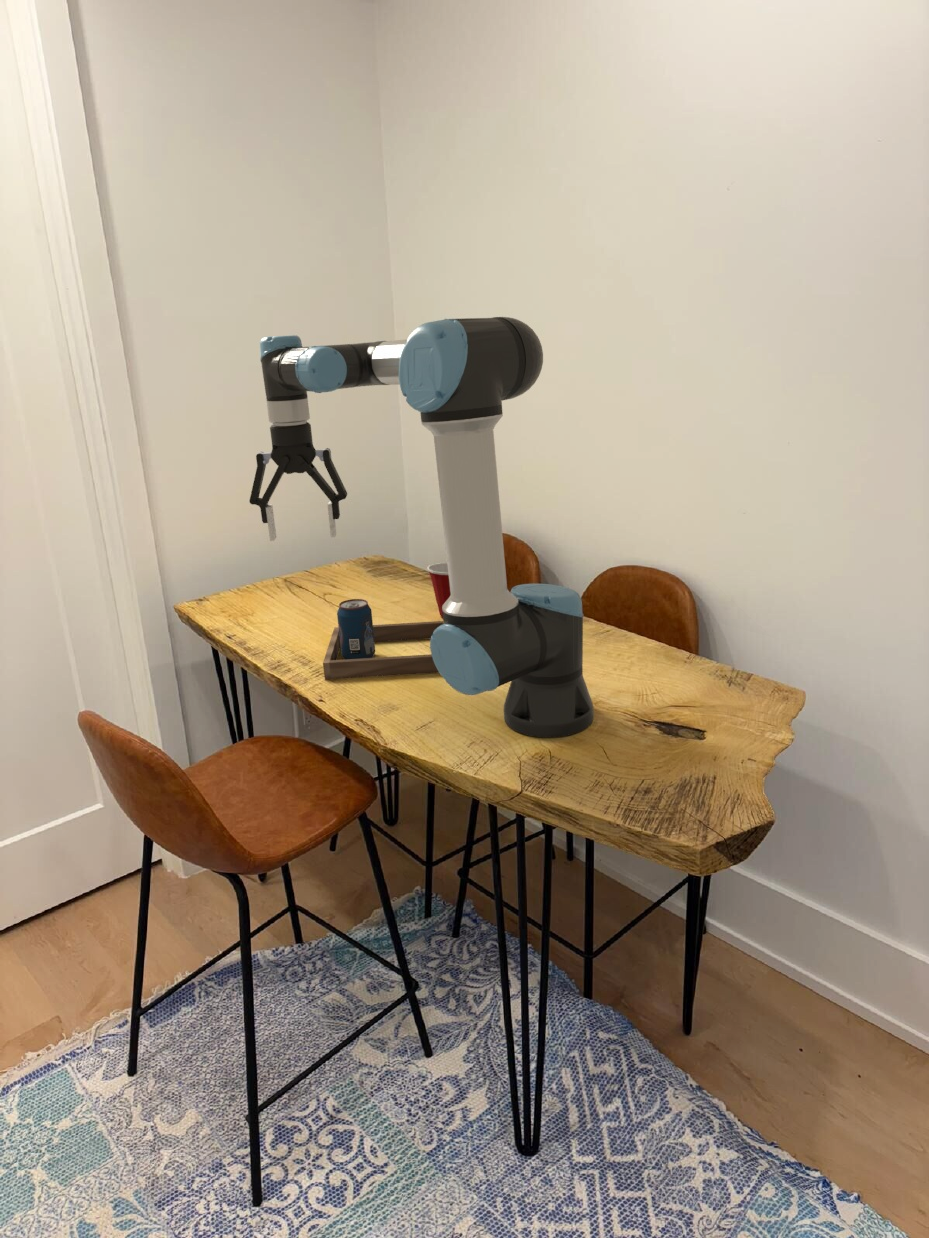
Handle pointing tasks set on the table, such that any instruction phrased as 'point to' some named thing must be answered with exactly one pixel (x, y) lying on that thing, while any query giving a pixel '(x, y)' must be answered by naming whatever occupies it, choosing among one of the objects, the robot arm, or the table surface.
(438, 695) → the table surface
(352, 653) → the soda can
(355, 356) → the robot arm
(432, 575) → the plastic cup
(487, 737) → the table surface
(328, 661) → the walnut tray frame
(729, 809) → the table surface
